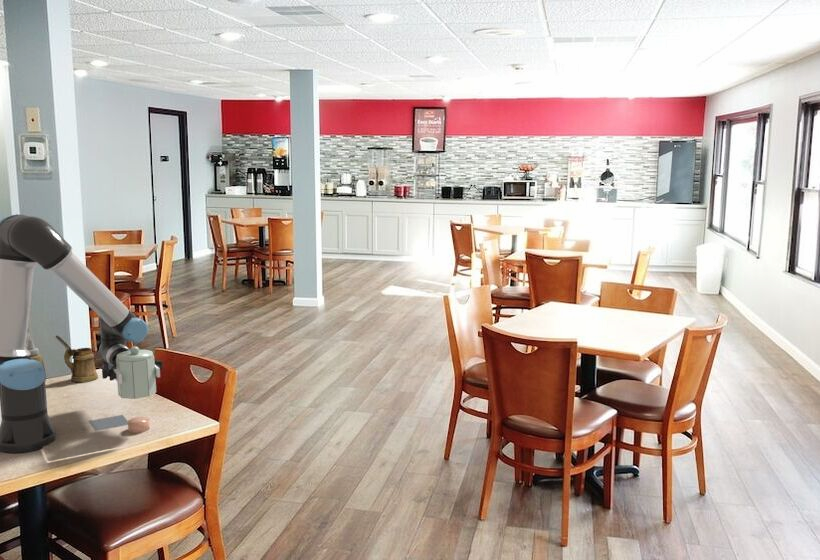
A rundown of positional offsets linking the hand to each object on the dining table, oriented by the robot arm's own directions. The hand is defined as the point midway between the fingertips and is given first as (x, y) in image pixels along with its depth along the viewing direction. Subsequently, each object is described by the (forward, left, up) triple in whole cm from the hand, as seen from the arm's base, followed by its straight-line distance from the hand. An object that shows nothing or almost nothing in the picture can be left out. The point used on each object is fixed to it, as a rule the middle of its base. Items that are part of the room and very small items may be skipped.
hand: (139, 375), depth 213 cm
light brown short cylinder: (0, +4, -18) cm, 19 cm away
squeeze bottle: (-20, +67, -18) cm, 72 cm away
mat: (-6, +15, -18) cm, 24 cm away
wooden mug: (-5, +70, -18) cm, 73 cm away
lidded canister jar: (0, +4, -6) cm, 8 cm away
